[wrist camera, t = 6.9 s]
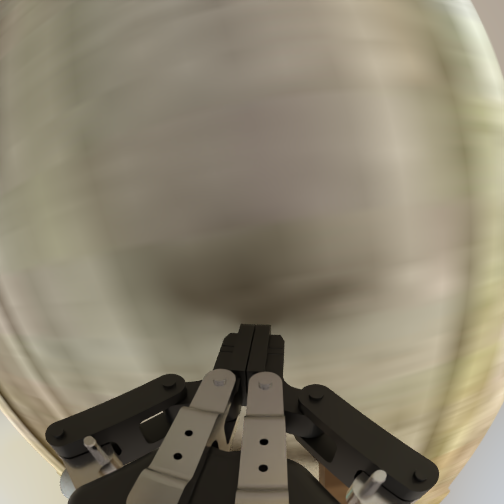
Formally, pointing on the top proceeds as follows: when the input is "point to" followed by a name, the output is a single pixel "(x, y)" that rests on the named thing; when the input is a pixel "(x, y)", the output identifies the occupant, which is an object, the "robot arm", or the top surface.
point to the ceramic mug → (66, 484)
